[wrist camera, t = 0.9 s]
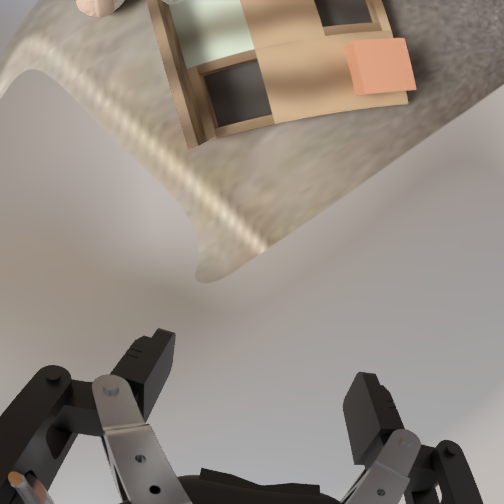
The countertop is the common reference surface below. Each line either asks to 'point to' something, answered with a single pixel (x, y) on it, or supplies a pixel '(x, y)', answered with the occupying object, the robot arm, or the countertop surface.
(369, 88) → the block
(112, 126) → the countertop surface
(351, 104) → the board
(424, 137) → the countertop surface
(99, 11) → the garlic bulb
